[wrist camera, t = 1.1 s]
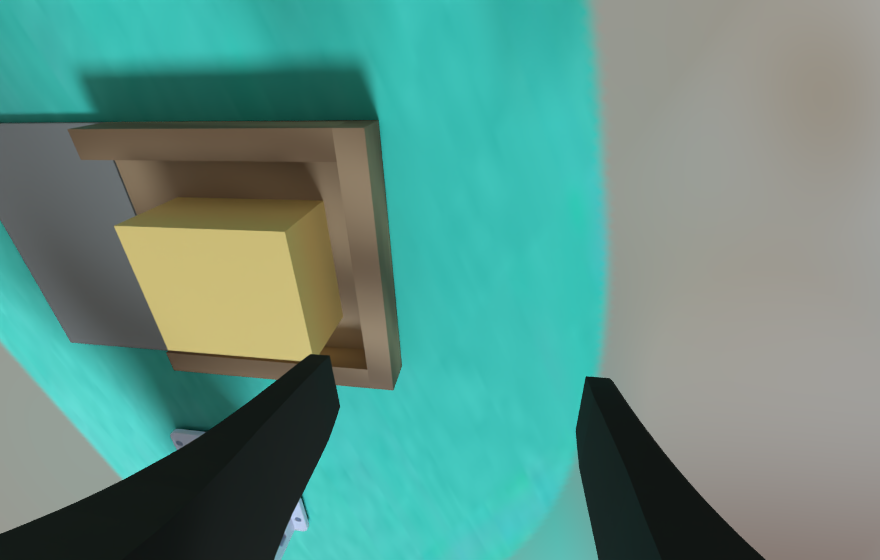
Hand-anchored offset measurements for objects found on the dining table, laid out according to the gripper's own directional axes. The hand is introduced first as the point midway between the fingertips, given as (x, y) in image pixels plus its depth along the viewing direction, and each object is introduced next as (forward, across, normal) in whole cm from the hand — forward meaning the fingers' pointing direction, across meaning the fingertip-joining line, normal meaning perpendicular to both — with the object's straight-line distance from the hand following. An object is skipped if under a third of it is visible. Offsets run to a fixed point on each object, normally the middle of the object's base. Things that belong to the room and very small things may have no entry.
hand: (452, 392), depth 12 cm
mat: (+8, +20, 0) cm, 22 cm away
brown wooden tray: (+8, +10, 0) cm, 13 cm away
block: (+8, +10, 0) cm, 13 cm away
